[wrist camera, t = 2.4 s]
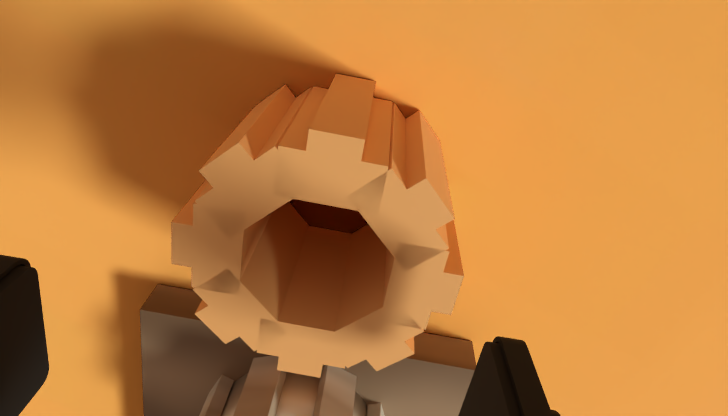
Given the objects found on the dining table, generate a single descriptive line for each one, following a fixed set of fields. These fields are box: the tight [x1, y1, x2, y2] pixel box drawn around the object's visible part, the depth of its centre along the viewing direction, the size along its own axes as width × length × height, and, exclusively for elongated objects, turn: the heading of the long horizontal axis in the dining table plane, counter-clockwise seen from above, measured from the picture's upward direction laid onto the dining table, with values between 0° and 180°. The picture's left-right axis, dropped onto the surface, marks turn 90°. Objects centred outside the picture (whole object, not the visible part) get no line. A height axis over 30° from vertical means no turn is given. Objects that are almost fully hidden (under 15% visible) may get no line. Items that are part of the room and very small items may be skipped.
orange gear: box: [172, 74, 464, 378], centre depth 15 cm, size 7×7×5 cm
